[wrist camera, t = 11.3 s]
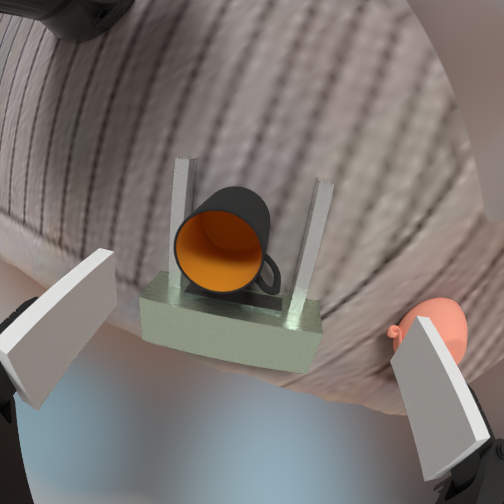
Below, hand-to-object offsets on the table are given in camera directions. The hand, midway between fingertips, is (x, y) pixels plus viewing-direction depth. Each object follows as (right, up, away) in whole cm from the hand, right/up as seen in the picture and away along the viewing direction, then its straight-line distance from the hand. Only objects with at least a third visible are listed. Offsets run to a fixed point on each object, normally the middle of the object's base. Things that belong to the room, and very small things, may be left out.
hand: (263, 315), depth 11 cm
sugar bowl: (+25, -8, +27) cm, 38 cm away
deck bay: (-2, +2, +25) cm, 25 cm away
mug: (-1, +5, +24) cm, 25 cm away
